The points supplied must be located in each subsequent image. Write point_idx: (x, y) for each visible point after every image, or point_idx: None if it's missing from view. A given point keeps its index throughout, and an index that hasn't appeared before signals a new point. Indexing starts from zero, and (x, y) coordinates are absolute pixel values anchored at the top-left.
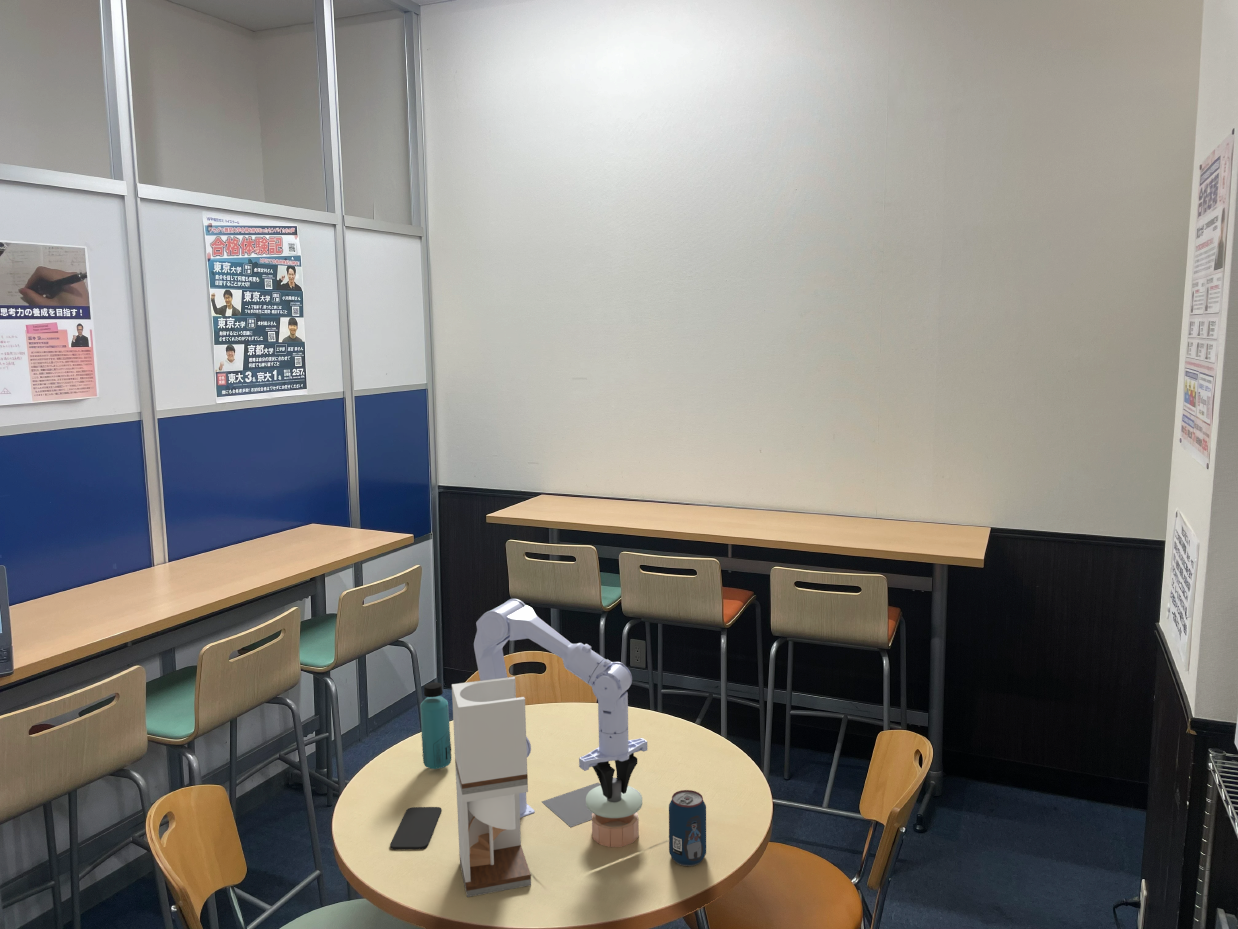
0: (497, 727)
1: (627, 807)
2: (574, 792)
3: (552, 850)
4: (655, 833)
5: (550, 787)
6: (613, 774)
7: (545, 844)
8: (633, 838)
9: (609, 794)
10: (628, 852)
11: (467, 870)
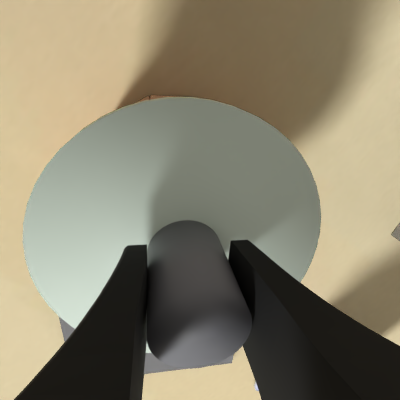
0: None
1: (176, 147)
2: (150, 368)
3: (341, 206)
4: (36, 103)
5: (178, 394)
6: (356, 389)
7: (333, 235)
8: (147, 99)
9: (262, 252)
10: (193, 62)
11: None
